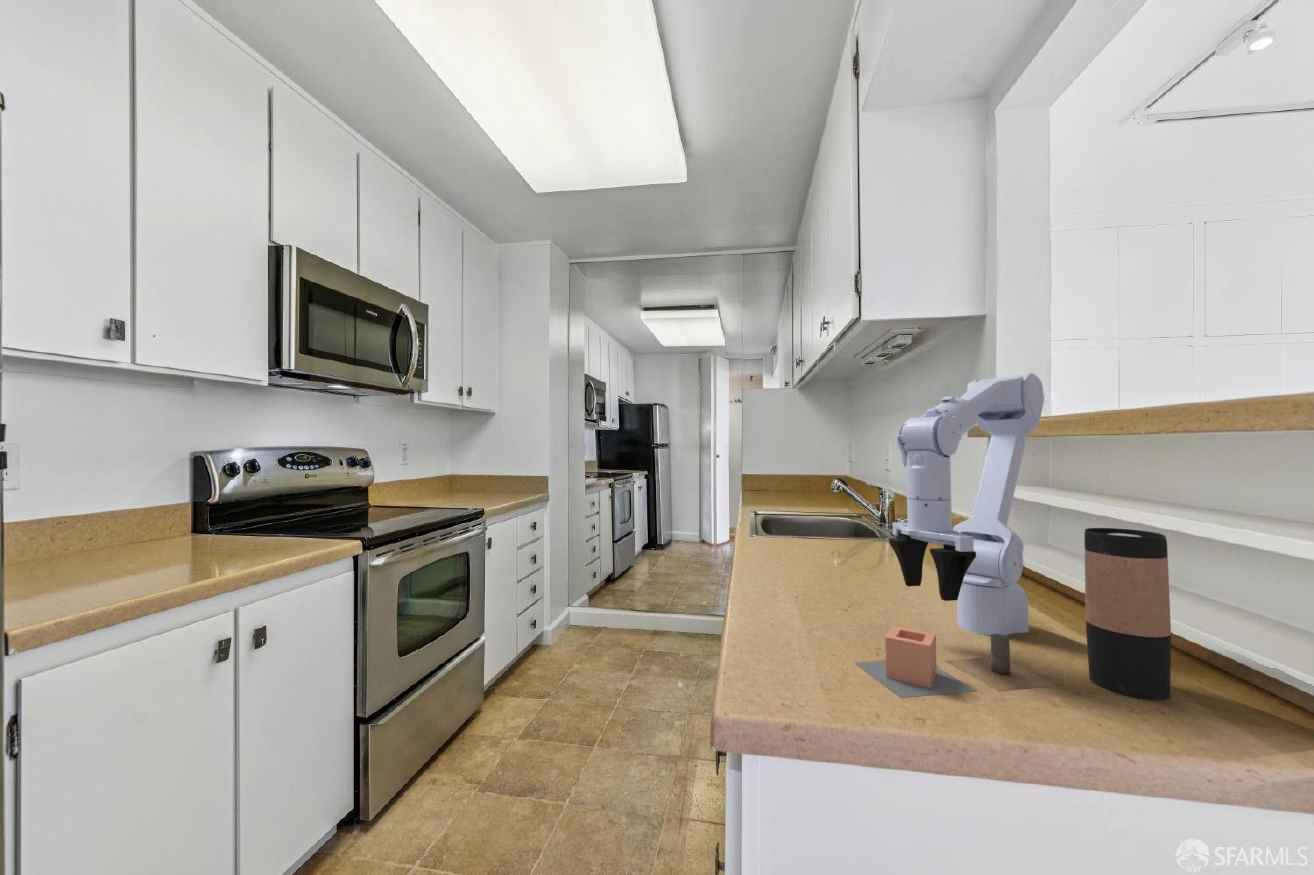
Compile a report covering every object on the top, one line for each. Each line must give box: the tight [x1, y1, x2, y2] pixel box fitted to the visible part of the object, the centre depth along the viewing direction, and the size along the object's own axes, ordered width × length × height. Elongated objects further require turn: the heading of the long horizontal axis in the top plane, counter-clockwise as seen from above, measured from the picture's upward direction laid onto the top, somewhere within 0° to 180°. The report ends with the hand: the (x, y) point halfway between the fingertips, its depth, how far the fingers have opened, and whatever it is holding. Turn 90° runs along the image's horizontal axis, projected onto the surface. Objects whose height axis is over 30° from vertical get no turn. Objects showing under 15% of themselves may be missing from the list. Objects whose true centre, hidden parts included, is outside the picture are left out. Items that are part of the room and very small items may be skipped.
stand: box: [944, 634, 1064, 692], centre depth 66 cm, size 9×9×6 cm
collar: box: [885, 626, 937, 688], centre depth 65 cm, size 5×5×5 cm
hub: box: [853, 659, 978, 699], centre depth 65 cm, size 10×10×6 cm
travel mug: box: [1084, 527, 1172, 701], centre depth 62 cm, size 8×8×20 cm
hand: (930, 592), depth 75 cm, fingers open, 7 cm apart
